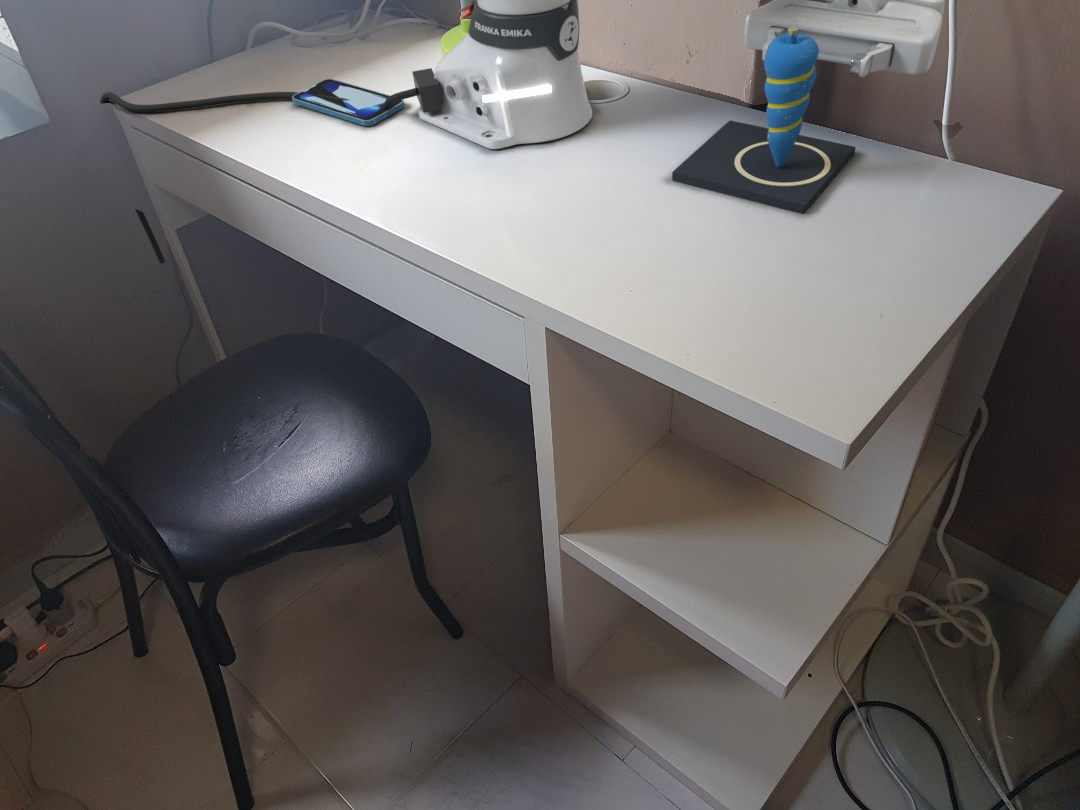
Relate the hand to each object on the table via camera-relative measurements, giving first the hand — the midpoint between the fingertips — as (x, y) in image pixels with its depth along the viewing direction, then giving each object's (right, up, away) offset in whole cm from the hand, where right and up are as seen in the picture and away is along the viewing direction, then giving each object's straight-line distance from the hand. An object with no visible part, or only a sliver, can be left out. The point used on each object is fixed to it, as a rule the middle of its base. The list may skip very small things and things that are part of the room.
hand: (811, 61), depth 86 cm
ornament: (-3, -10, +3) cm, 11 cm away
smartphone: (-54, +5, +26) cm, 60 cm away
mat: (-3, -9, +6) cm, 11 cm away
